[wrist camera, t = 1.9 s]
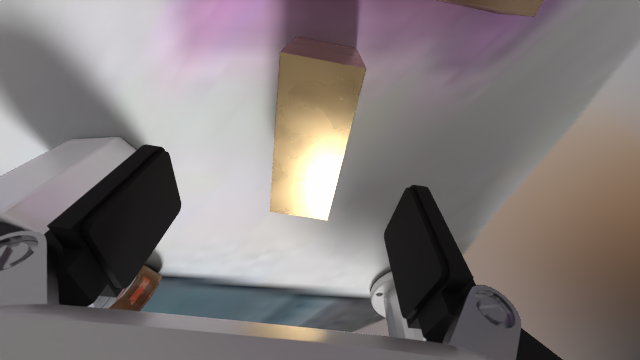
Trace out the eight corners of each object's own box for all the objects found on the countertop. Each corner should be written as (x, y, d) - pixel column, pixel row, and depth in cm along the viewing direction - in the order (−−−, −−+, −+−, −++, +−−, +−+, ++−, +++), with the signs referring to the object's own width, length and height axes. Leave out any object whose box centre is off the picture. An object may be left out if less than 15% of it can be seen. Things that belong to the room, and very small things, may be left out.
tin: (114, 297, 37) (65, 365, 30) (93, 287, 36) (37, 355, 29) (173, 265, 31) (129, 338, 25) (151, 251, 30) (98, 325, 23)
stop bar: (356, 48, 16) (366, 68, 11) (328, 172, 22) (327, 220, 17) (296, 36, 16) (280, 52, 11) (284, 164, 22) (269, 211, 17)
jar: (102, 208, 26) (-36, 333, 16) (46, 138, 21) (-196, 254, 12) (184, 206, 25) (90, 335, 16) (144, 132, 20) (-25, 251, 11)
